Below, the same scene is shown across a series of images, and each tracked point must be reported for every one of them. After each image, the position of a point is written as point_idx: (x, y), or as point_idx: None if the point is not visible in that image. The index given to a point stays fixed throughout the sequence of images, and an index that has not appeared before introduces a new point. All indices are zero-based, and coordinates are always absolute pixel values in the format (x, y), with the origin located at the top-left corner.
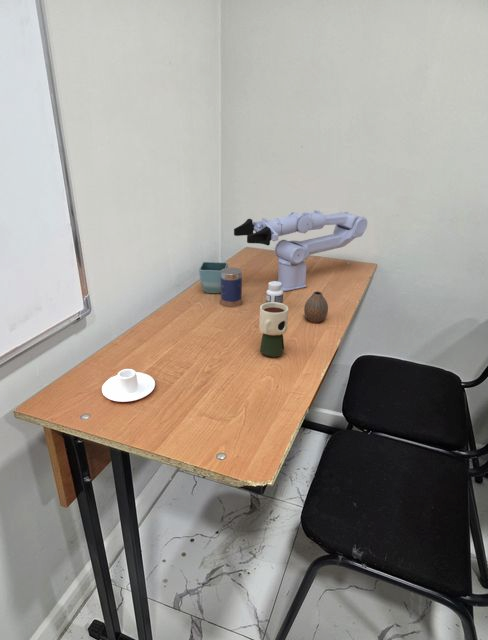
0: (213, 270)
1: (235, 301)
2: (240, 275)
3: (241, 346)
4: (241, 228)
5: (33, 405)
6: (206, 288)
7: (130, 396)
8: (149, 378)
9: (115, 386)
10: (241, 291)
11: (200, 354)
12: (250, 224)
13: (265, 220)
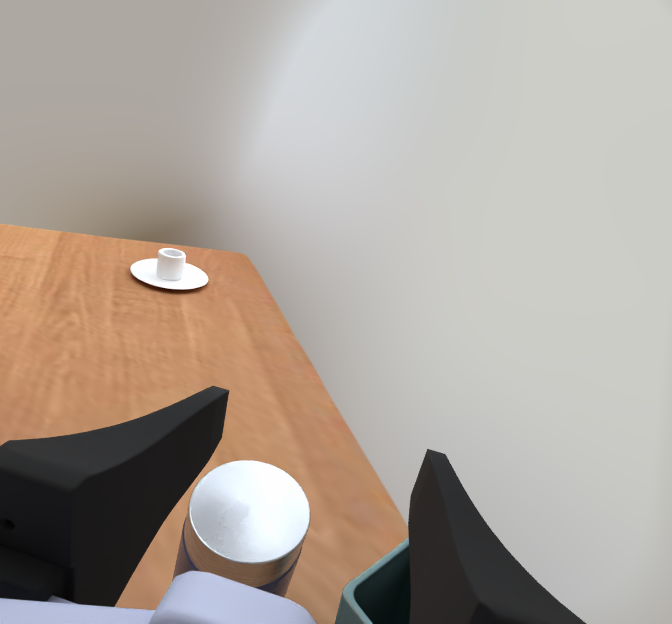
0: (387, 555)
1: None
2: (186, 522)
3: (20, 386)
4: (432, 509)
5: (242, 257)
6: (388, 610)
7: (154, 268)
8: (155, 283)
9: (189, 276)
10: None
11: (116, 342)
12: (451, 613)
13: (178, 580)
